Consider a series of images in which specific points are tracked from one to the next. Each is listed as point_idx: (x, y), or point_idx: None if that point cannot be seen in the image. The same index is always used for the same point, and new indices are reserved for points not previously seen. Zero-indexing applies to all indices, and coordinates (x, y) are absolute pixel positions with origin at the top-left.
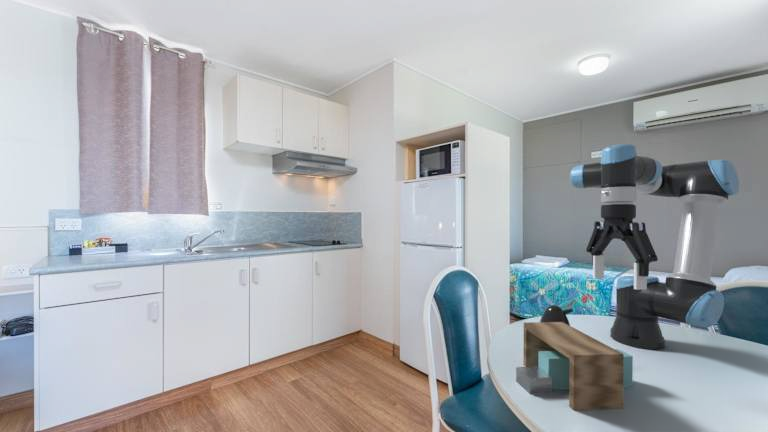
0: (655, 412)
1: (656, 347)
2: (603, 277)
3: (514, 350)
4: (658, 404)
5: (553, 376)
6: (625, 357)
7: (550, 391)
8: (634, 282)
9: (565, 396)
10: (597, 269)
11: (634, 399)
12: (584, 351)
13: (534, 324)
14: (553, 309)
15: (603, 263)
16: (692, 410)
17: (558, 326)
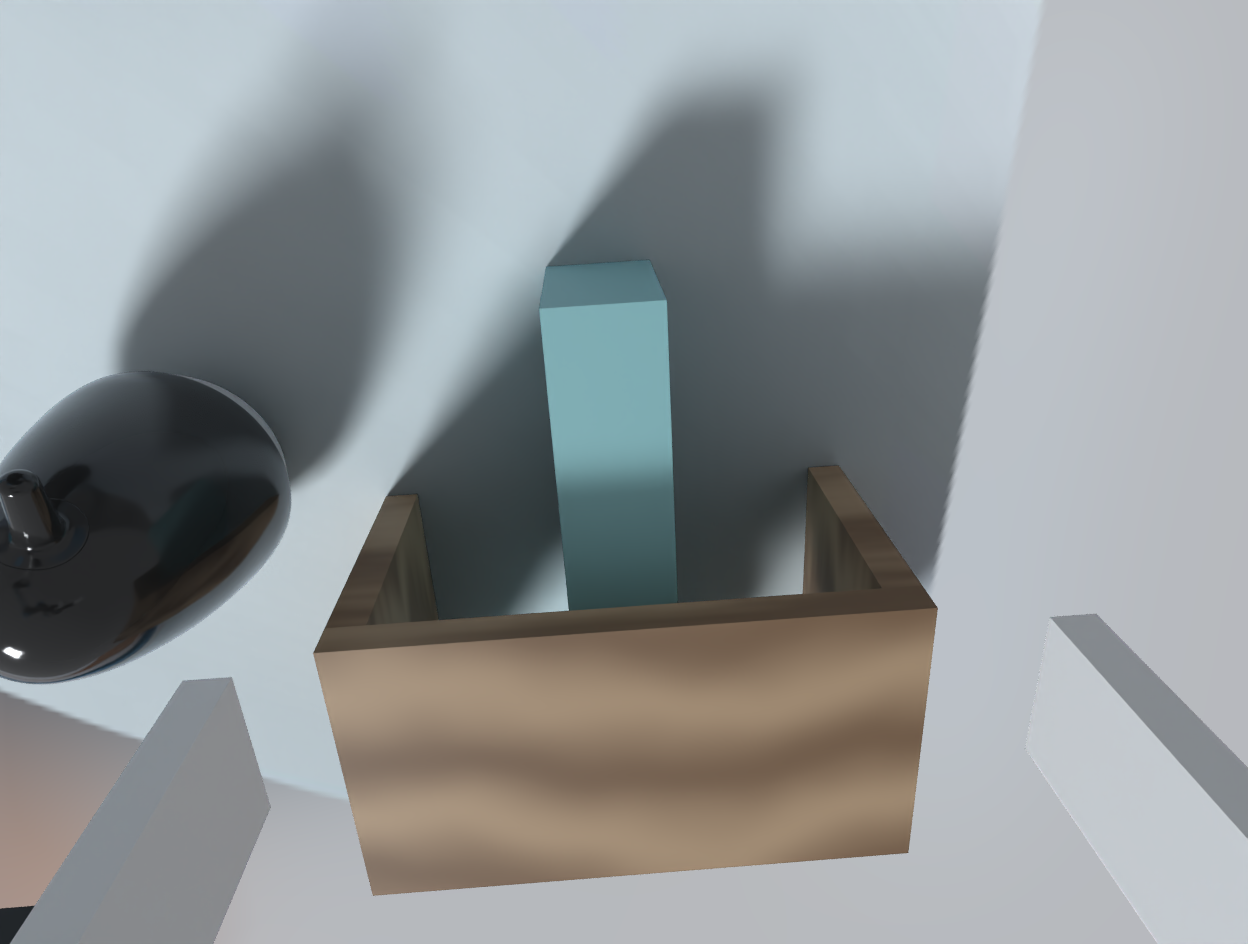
0: (885, 340)
1: None
2: (227, 692)
3: (230, 675)
4: (829, 266)
5: None
6: (668, 353)
7: None
8: (1087, 821)
9: None
10: (194, 908)
11: (776, 355)
12: (870, 784)
13: (408, 851)
14: (84, 665)
15: (90, 933)
16: (898, 124)
17: (436, 727)
